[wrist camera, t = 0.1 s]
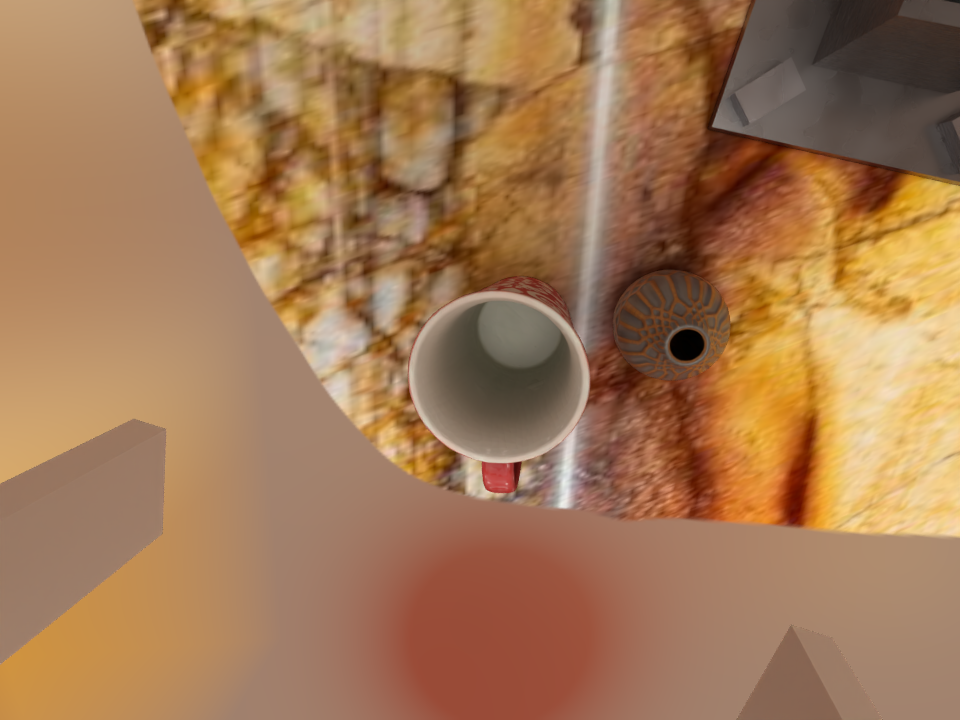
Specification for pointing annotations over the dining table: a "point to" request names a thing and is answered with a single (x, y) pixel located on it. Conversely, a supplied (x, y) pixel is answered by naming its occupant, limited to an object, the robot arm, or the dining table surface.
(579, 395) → the mug
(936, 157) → the stand base
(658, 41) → the dining table surface
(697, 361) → the vase
